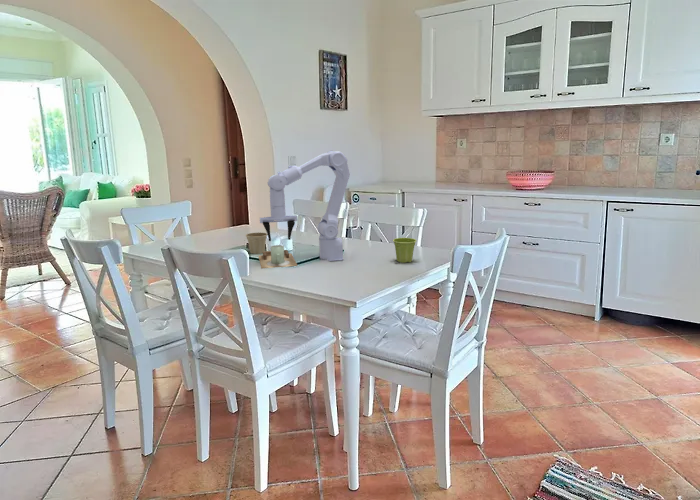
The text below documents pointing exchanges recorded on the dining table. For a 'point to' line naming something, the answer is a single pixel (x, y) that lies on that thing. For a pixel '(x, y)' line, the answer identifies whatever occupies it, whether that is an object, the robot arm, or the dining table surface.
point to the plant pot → (404, 249)
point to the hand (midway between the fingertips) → (279, 239)
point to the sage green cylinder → (277, 254)
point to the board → (266, 263)
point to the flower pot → (256, 242)
